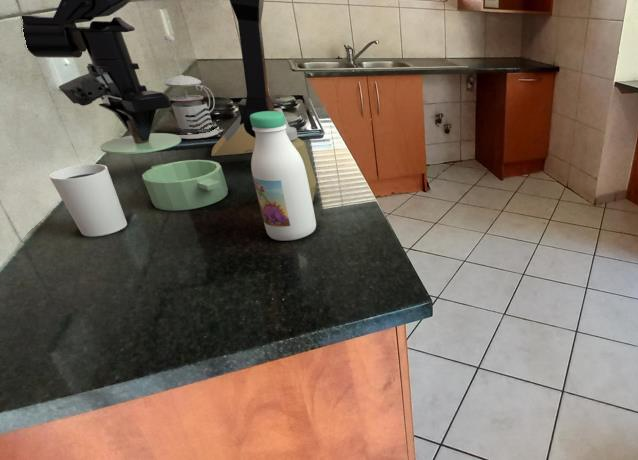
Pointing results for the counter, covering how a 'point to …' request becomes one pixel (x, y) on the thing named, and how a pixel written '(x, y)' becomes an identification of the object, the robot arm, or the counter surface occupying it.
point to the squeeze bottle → (301, 154)
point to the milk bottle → (280, 180)
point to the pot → (185, 184)
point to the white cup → (90, 198)
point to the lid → (140, 143)
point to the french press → (191, 100)
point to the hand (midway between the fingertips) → (141, 139)
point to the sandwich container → (235, 141)
